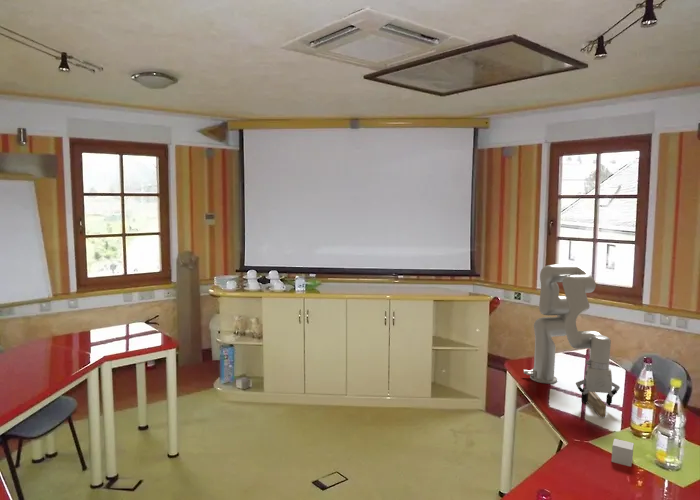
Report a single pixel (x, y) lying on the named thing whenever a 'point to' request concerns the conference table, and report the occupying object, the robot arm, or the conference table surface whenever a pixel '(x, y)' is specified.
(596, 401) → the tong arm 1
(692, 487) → the conference table surface
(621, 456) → the grey cube
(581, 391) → the robot arm
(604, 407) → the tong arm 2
